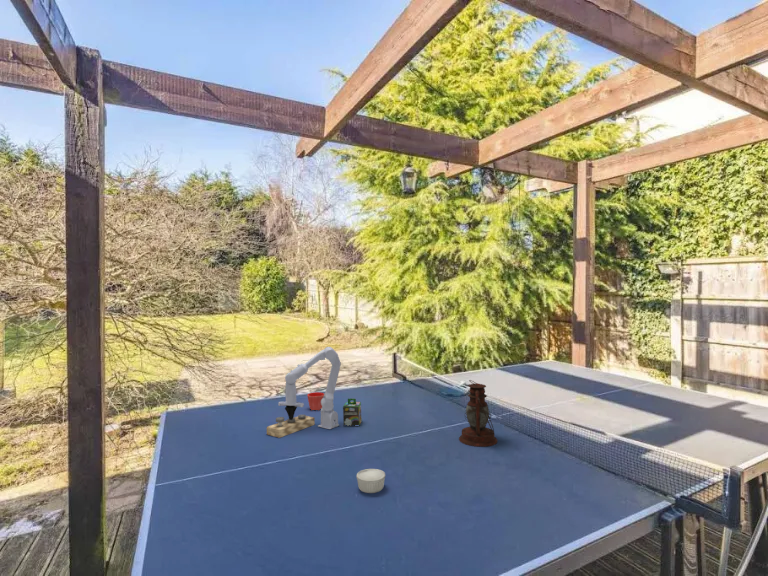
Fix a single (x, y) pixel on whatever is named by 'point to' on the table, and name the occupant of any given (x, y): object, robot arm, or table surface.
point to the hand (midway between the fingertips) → (291, 419)
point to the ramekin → (370, 480)
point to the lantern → (477, 419)
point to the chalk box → (352, 413)
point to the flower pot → (315, 400)
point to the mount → (290, 427)
